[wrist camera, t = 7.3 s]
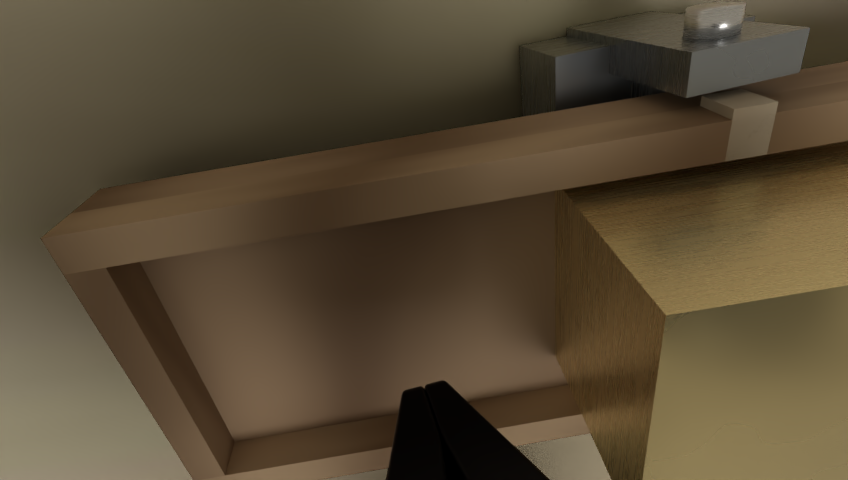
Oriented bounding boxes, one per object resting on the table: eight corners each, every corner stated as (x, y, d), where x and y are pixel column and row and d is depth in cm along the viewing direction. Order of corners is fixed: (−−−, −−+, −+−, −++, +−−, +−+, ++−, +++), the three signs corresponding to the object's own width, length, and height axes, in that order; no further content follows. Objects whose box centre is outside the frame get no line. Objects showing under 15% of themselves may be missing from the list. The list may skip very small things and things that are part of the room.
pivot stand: (1007, -78, 14) (1288, -99, 10) (878, 255, 20) (1024, 326, 16) (99, 96, 11) (-14, 165, 7) (260, 431, 17) (249, 574, 13)
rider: (884, 125, 10) (1198, 226, 6) (819, 311, 13) (1015, 466, 9) (554, 179, 10) (665, 315, 6) (554, 355, 13) (635, 531, 9)
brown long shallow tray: (1275, -22, 11) (1472, -17, 9) (1073, 288, 15) (1176, 336, 13) (95, 180, 11) (34, 229, 9) (229, 434, 15) (208, 503, 13)
